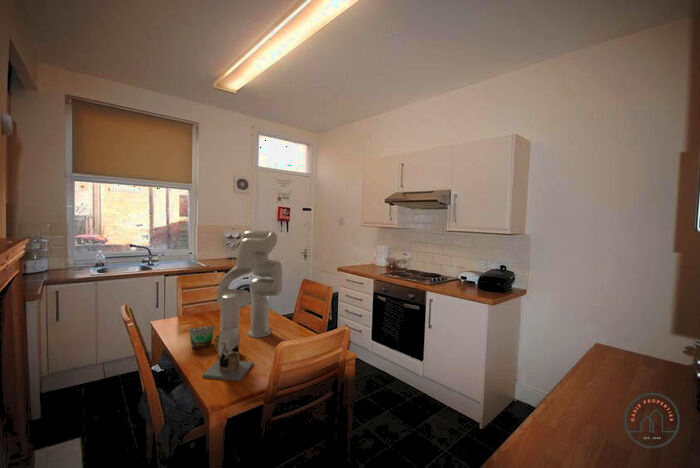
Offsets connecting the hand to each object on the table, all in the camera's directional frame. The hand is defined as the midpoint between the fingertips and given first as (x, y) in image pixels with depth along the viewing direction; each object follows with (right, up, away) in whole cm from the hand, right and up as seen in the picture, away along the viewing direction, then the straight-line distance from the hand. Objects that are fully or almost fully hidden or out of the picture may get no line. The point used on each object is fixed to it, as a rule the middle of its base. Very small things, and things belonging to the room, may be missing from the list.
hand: (229, 361), depth 137 cm
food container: (-22, -2, +21) cm, 31 cm away
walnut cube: (0, -3, 0) cm, 3 cm away
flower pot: (-8, -3, +16) cm, 18 cm away
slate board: (0, -4, 0) cm, 4 cm away
